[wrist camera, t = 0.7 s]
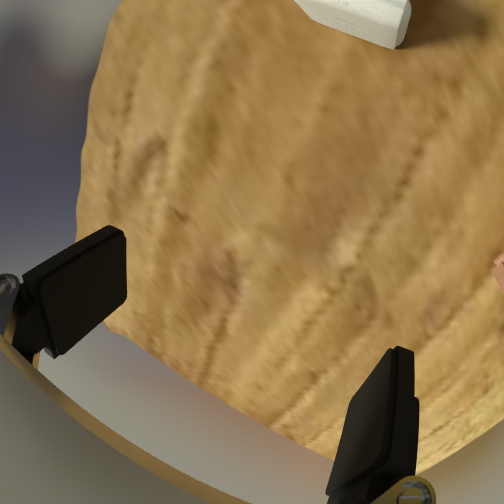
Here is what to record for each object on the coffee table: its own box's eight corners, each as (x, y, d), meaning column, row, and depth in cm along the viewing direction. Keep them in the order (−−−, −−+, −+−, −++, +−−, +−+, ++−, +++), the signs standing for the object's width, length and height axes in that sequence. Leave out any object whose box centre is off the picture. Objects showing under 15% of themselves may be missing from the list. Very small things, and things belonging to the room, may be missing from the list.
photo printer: (306, 22, 27) (269, -15, 17) (318, -9, 25) (286, -57, 15) (397, 56, 25) (407, 28, 15) (409, 24, 23) (422, -17, 13)
